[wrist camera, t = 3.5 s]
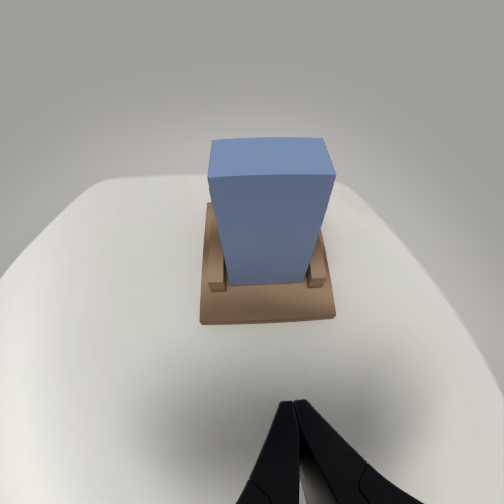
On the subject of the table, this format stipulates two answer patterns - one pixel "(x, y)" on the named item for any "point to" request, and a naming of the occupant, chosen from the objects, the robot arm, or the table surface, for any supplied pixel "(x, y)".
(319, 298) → the housing
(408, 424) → the table surface
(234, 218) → the blue rectangular block
